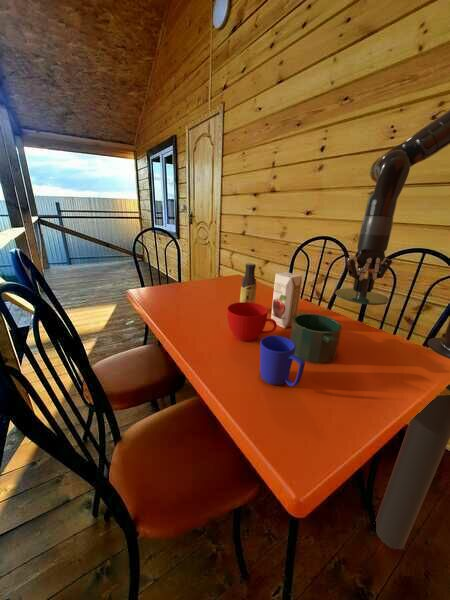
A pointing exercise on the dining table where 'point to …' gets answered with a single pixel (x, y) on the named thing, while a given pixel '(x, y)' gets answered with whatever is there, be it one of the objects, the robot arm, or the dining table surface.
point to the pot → (315, 337)
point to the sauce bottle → (248, 284)
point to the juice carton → (286, 298)
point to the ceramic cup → (248, 320)
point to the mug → (278, 360)
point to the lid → (362, 295)
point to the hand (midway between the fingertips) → (362, 291)
